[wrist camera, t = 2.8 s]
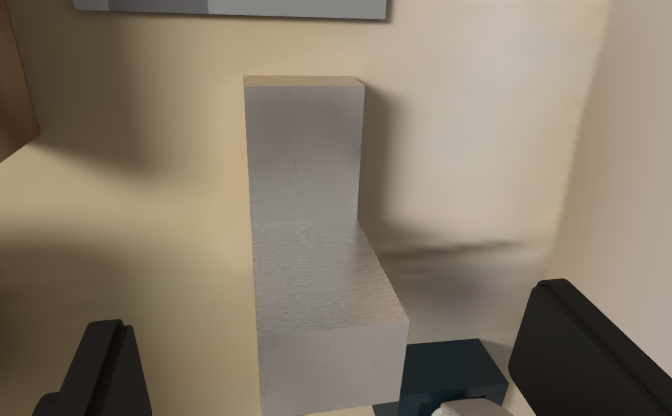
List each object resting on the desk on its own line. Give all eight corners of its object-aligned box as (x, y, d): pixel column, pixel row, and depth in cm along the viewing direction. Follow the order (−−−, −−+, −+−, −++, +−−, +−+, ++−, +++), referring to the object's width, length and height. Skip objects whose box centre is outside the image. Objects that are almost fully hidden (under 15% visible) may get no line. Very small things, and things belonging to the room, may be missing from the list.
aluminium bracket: (342, 256, 20) (398, 400, 13) (253, 263, 19) (261, 420, 12) (351, 75, 17) (435, 139, 10) (243, 75, 16) (247, 144, 9)
